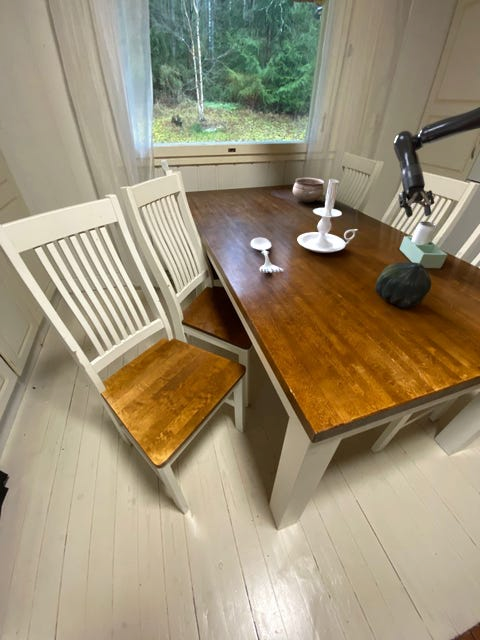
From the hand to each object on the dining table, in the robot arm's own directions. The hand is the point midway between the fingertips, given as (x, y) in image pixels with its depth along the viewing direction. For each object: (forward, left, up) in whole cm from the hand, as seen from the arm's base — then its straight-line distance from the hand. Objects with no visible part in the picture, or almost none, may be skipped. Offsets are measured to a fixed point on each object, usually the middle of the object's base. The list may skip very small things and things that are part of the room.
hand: (419, 216), depth 113 cm
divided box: (-1, +9, -14) cm, 17 cm away
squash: (+21, +42, -14) cm, 49 cm away
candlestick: (+37, +2, -14) cm, 39 cm away
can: (-1, +6, -13) cm, 15 cm away
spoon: (+64, +15, -14) cm, 67 cm away
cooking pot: (+35, -69, -14) cm, 78 cm away
